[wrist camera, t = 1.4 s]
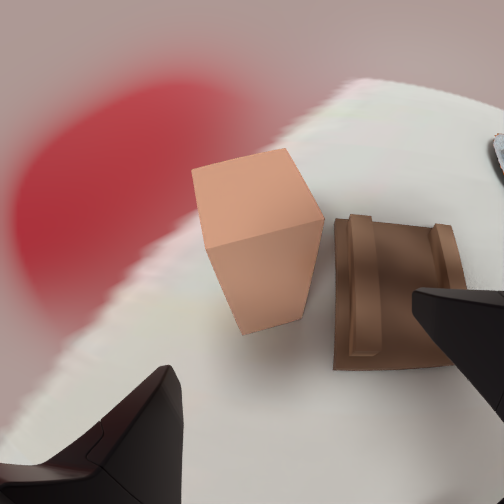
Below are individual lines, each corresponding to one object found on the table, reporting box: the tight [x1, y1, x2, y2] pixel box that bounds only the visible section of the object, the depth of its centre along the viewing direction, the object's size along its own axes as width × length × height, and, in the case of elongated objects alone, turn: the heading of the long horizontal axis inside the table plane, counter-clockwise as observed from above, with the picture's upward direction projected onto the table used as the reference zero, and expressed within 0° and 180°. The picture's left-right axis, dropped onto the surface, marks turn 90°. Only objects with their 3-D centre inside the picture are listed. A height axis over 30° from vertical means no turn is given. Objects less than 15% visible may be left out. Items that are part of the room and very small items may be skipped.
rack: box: [333, 214, 467, 371], centre depth 21 cm, size 14×13×3 cm
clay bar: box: [192, 148, 325, 335], centre depth 18 cm, size 5×5×13 cm
